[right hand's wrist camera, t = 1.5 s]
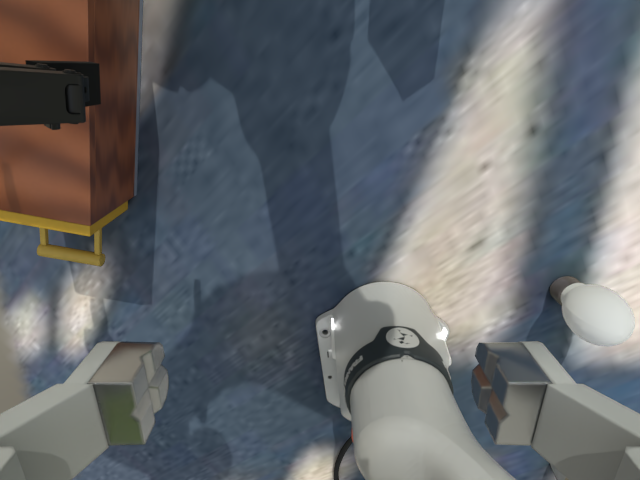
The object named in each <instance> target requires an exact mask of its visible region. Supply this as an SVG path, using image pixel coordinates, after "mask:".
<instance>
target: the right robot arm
mask: <svg viewBox="0 0 640 480" xmlns="http://www.w3.org/2000/svg"><path fill="white" fill-rule="evenodd" d="M315 324H316V331H317V338H318V345H319V351H320V358H321V365H322V371H323V378H324V385H325V391H326V397H327V400H328V402H330V403H331V404H333V405H335V406H337V407H339V408H341V414H342V415H343V416H344V417H345V418H346V419H348V420H350V421H352V436H351V437H350V438H349V440H348V441H347V442H346V443H345V445H344V446H343V448H342V449H341V451H340V453H339V455H338V458H337V460H336V463H335V468H334V480H339V478H338V472H339V466H340V463H341V460H342V458H343V456H344V454H345V452H346V451H347V449H348V447H349V446H350V445H351V443H352V442H353V443H354V454H355V460H356V463H357V465H358V468H359V470H360V472H361V473H362V475H363V477H364V478H365V480H516V479H515V478H514V477H513V476H511V475H510V474H509V473H508V472H507V471H506V470H504V469H503V468H502V467H501V466H500V465H499V464H498V463H497V462H496V461H495V460H494V459H493V458H492V457H491V456H490V455H489V454H488V453H487V452H486V451H485V450H484V449H483V448H482V447H481V445H480V444H479V443H478V442H477V440H476V439H475V437H474V436H473V434H472V433H471V431H470V429H469V427H468V425H467V424H466V422H465V420H464V418H463V416H462V414H461V412H460V410H459V408H458V405H457V403H456V401H455V399H454V397H453V386H452V382H451V377H450V374H449V371H448V367H449V366H450V365H451V357H450V354H449V351H448V348H447V345H446V340H447V338H448V336H449V333H450V332H449V328H448V325H447V324H446V323H445V322H444V321H443V320H441V319H440V318H439V317H437V316H436V315H435V314H434V313H433V311H432V310H431V308H430V306H429V304H428V302H427V301H426V300H425V298H424V297H423V296H422V295H421V294H420V293H418V292H417V291H416V290H414V289H412V288H411V287H408V286H406V285H403V284H400V283H395V282H375V283H370V284H367V285H364V286H361V287H359V288H357V289H355V290H354V291H352V292H350V293H349V294H348V295H347V296H345V297H344V298H343V299H342V301H341V302H340V303H339V304H338V305H337V306H336V307H335V308H333V309H332V310H329V311H327V312H325V313H323V314H321V315H320V316H319V317H317V319H316V321H315ZM323 330H327V332H324V331H323ZM164 357H165V354H164V349H163V345H162V344H161V343H159V342H100V343H97V344H96V345H95V347H94V348H93V349H92V350H91V351H90V353H89V354H88V355H87V356H86V357H85V359H84V360H83V361H82V362H81V363H80V365H79V366H78V367H77V368H76V369H75V371H74V372H73V373H72V374H71V375H70V377H69V378H68V379H67V380H66V381H65V383H64V384H56V385H54V386H52V387H50V388H48V389H47V390H45V391H43V392H41V393H39V394H37V395H35V396H33V397H31V398H29V399H28V400H26V401H24V402H22V403H20V404H18V405H16V406H14V407H12V408H11V409H9V410H7V411H5V412H3V413H1V414H0V480H72V479H73V478H74V477H75V476H76V475H77V474H79V473H80V472H81V471H82V470H83V469H84V468H85V467H87V466H88V465H89V464H90V463H91V462H92V461H94V460H95V459H96V458H97V457H98V456H99V455H100V454H102V453H103V452H104V451H105V450H106V449H107V448H108V447H109V446H108V445H140V444H145V443H146V441H147V439H148V437H149V435H150V433H151V430H152V428H153V426H154V424H155V417H154V414H155V413H156V412H157V411H159V410H160V409H162V407H163V405H164V403H165V400H166V397H167V392H168V388H169V378H168V371H167V369H166V368H165V367H164V366H163V365H162V364H161V362H162V361H163V359H164ZM475 357H476V359H477V361H478V362H479V364H478V365H477V366H476V367H475V368H474V369H473V371H472V379H471V385H472V393H473V397H474V401H475V403H476V405H477V407H478V409H480V410H481V411H483V412H484V413H485V414H486V417H485V424H486V426H487V428H488V430H489V432H490V435H491V437H492V439H493V441H494V443H495V444H499V445H532V446H531V447H532V448H533V449H534V450H535V451H536V452H537V453H539V454H540V455H541V456H542V457H543V458H544V459H545V460H547V461H548V462H549V463H550V464H551V465H552V466H554V467H555V468H556V469H557V470H558V471H559V472H560V473H562V474H563V475H564V476H565V477H566V478H567V479H569V480H640V414H639V413H637V412H635V411H633V410H631V409H629V408H627V407H626V406H624V405H622V404H620V403H618V402H616V401H614V400H612V399H610V398H609V397H607V396H605V395H603V394H601V393H599V392H597V391H595V390H593V389H592V388H590V387H588V386H586V385H584V384H576V383H575V381H574V380H573V379H572V378H571V377H570V375H569V374H568V373H567V372H566V371H565V369H564V368H563V367H562V366H561V365H560V363H559V362H558V361H557V360H556V359H555V357H554V356H553V355H552V354H551V353H550V352H549V350H548V349H547V348H546V347H545V346H544V344H543V343H541V342H539V341H530V342H511V343H479V344H478V346H477V349H476V354H475Z"/></svg>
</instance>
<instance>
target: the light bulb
mask: <svg viewBox="0 0 640 480" xmlns="http://www.w3.org/2000/svg"><path fill="white" fill-rule="evenodd" d="M550 294H551V296H552V297H553V298H554V299H555V300H556V301H557V302H558V303H559V304H560V305H561V306H562V313H563V317H564V319H565V322H566V324H567V325H568V326H569V328H570V329H571V330H572V331H573V332H574V333H575V334H576V335H577V336H579V337H580V338H581V339H583V340H585V341H587V342H589V343H592V344H595V345H599V346H614V345H618V344H621V343H623V342H625V341H626V340H627V339H628V338H629V337H630V336H631V335H632V333H633V330H634V327H635V318H634V314H633V312H632V309H631V308H630V306H629V305H628V303H627V302H626V300H624V299H623V298H622V297H621V296H620V295H619V294H618V293H616V292H614V291H613V290H611V289H609V288H606V287H604V286H600V285H594V284H587V285H585V284H583V283H581V282H580V281H578V280H577V279H576V278H574V277H570V276H566V277H561V278H559V279H557V280H556V281H554V282H553V284H552V285H551V287H550Z"/></svg>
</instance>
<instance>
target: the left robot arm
mask: <svg viewBox="0 0 640 480" xmlns="http://www.w3.org/2000/svg"><path fill="white" fill-rule="evenodd" d="M25 62H26V65H25V64H15V63H5V62H0V126H13V125H38V124H44V126H46V127H48V128H49V129H51V130H59V129H61V127H60V124H63V123H69V124H79V123H84V122H86V113H85V107H87V106H93V105H99V104H101V92H100V67H99V63H94V62H86V61H40V60H25Z"/></svg>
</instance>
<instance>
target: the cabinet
mask: <svg viewBox="0 0 640 480" xmlns="http://www.w3.org/2000/svg"><path fill="white" fill-rule="evenodd" d="M142 18H143V0H0V62H5V63H15V64H25V65H26V62H25V60H40V61H86V62H94V63H99V67H100V92H101V104H99V105H93V106H87V107H85V113H86V122H84V123H79V124H69V123H63V124H60V127H61V129H59V130H51V129H49V128H48V127H46V126H44V124H38V125H13V126H0V210H4V211H10V212H15V213H21V214H27V215H32V216H38V217H43V218H49V219H54V220H60V221H65V222H71V223H76V224H82V225H87V226H91V225H93V224H94V223H96V222H97V221H99V220H100V219H102V218H103V217H105V216H106V215H108V214H109V213H110V212H112V211H113V210H115V209H116V208H118V207H119V206H121V205H122V204H124V203H125V202H127V201H128V200H130V199H131V198H132V197H134V196H136V195H137V174H138V143H139V111H140V80H141V49H142Z"/></svg>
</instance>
